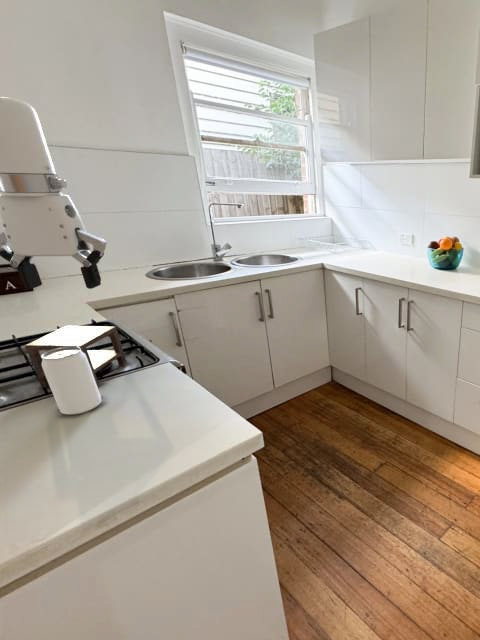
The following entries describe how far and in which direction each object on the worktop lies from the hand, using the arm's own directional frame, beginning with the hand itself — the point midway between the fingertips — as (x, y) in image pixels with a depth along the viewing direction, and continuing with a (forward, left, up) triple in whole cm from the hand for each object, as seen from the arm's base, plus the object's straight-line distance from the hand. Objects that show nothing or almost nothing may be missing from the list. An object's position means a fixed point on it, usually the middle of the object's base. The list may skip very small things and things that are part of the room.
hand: (64, 287), depth 69 cm
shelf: (-10, +10, -24) cm, 28 cm away
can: (-2, -3, -24) cm, 24 cm away
